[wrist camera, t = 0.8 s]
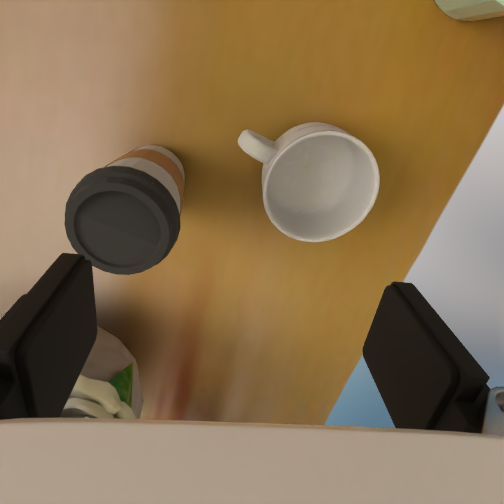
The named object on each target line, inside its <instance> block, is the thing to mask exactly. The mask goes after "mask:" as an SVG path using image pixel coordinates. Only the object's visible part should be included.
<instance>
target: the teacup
mask: <svg viewBox="0 0 504 504" xmlns="http://www.w3.org/2000/svg"><path fill="white" fill-rule="evenodd" d="M238 144H239V146H240V148H241V149H242V150H243V151H245V152H246V153H247V154H249V155H250V156H251V157H253V158H255V159H256V160H258V161H260V162H263V163H264V164H263V169H262V189H263V190H262V197H263V204H264V208H265V211H266V213H267V215H268V217H269V219H270V220H271V222H272V223H273V224H274V225H275V226H276V228H277V229H278V230H280V231H281V232H282V233H284V234H285V235H287V236H289V237H291V238H293V239H296V240H300V241H304V242H323V241H328V240H332V239H335V238H337V237H339V236H342V235H344V234H345V233H347V232H349V231H350V230H352V229H354V228H355V227H356V226H357V225H358V224H359V223H361V222H362V221H363V220H364V219H365V217H366V216H367V215H368V213H369V212H370V210H371V209H372V207H373V205H374V203H375V201H376V198H377V195H378V191H379V182H380V179H379V169H378V165H377V162H376V160H375V157H374V156H373V154H372V152H371V151H370V149H369V148H368V147H367V146H366V145H365V144H364V143H363V142H362V141H360V140H359V139H358V138H356V137H354V136H352V135H350V134H349V133H347V132H346V131H344V130H343V129H341V128H339V127H337V126H334V125H331V124H327V123H321V122H312V123H305V124H301V125H298V126H295V127H293V128H291V129H289V130H288V131H286V132H285V133H284V134H282V135H281V136H280V137H279V138H278V139H277V140H276V141H271V140H269V139H267V138H265V137H263V136H262V135H260V134H258V133H256V132H254V131H252V130H249V129H246V130H244V131H243V132H242V133H241V135H240V137H239V139H238Z"/></svg>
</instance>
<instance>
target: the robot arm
mask: <svg viewBox="0 0 504 504" xmlns="http://www.w3.org/2000/svg"><path fill="white" fill-rule="evenodd" d="M96 337H97V319H96V307H95V296H94V285H93V273H92V263H91V261H90V260H86V259H85V256H84V255H81V254H69V253H62V254H61V255H60V256H59V257H58V258H57V259H56V261H55V262H54V263H53V264H52V265H51V266H50V268H49V269H48V270H47V271H46V272H45V274H44V275H43V276H42V277H41V278H40V279H39V281H38V282H37V283H36V284H35V285H34V286H33V288H32V289H31V290H30V291H29V292H28V293H27V294H25V295H23V296H21V297H20V298H19V299H18V300H17V302H16V303H15V304H14V305H13V306H12V307H11V308H10V310H9V311H8V312H7V313H6V314H5V315H4V316H3V318H2V319H1V320H0V504H504V387H495V388H492V389H490V388H489V387H488V386H487V384H486V383H487V381H488V380H489V376H488V375H487V374H486V372H485V371H484V370H483V369H482V368H481V366H480V365H479V364H478V363H477V361H476V360H475V359H474V358H473V357H472V355H471V354H470V353H469V352H468V351H467V349H466V348H465V347H464V346H463V344H462V343H461V342H460V341H459V340H458V338H457V337H456V336H455V335H454V333H453V332H452V331H451V330H450V328H449V327H448V326H447V325H446V324H445V323H444V321H443V320H442V319H441V318H440V317H439V315H438V314H437V313H436V312H435V310H434V309H433V308H432V307H431V305H430V304H429V303H428V302H427V300H426V299H425V298H424V297H423V296H422V294H421V293H420V292H419V291H418V290H417V288H416V287H415V286H414V285H413V284H412V283H404V282H393V283H392V284H391V285H390V286H387V287H386V288H385V290H384V293H383V295H382V298H381V301H380V303H379V306H378V309H377V311H376V314H375V317H374V319H373V322H372V325H371V327H370V330H369V333H368V335H367V338H366V341H365V343H364V346H363V357H364V359H365V361H366V363H367V366H368V368H369V370H370V372H371V374H372V377H373V379H374V381H375V383H376V385H377V388H378V390H379V392H380V394H381V397H382V399H383V401H384V403H385V405H386V407H387V410H388V412H389V414H390V416H391V419H392V421H393V423H394V425H395V427H396V428H375V427H352V426H327V425H301V424H274V423H246V422H217V421H185V420H152V419H117V418H60V415H61V413H62V411H63V409H64V407H65V405H66V403H67V401H68V398H69V396H70V394H71V392H72V390H73V388H74V386H75V384H76V381H77V379H78V377H79V375H80V373H81V371H82V369H83V367H84V364H85V362H86V360H87V358H88V356H89V354H90V352H91V350H92V347H93V345H94V343H95V341H96Z"/></svg>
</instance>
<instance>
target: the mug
mask: <svg viewBox="0 0 504 504" xmlns="http://www.w3.org/2000/svg"><path fill="white" fill-rule="evenodd" d="M435 2H436V4H437V6H438V7H439V8H440V10H442V11H443V12H444V13H445V14H446V15H448V16H449V17H451V18H453V19H456V20H460V21H475V20H481V19H487V18H493V17H499V16H504V0H435Z"/></svg>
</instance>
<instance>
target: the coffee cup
mask: <svg viewBox="0 0 504 504" xmlns="http://www.w3.org/2000/svg"><path fill="white" fill-rule="evenodd" d="M184 182H185V173H184V170H183V166H182V164H181V162H180V161H179V159H178V158H177V157H176V156H175V155H174V154H173V153H172V152H171V151H169V150H167V149H166V148H163V147H160V146H157V145H146V146H141V147H139V148H137V149H136V150H133V151H131V152H129V153H127V154H125V155H124V156H122V157H120V158H118V159H117V160H115V161H113V162H111V163H110V164H108V165H106V166H105V167H104V168H99V169H97V170H95V171H93V172H91V173H89V174H87V175H86V176H85V177H84V178H83V179H82V180H81V181H80V182H79V183H78V184H77V185H76V187H75V188H74V189H73V191H72V192H71V194H70V197H69V199H68V201H67V203H66V210H65V228H66V233H67V237H68V239H69V241H70V243H71V245H72V247H73V248H74V249H75V251H76V252H77V253H78V254H81V255H84V256H85V259H86V260H90V261H91V263H92V266H94V267H96V268H98V269H100V270H103V271H106V272H110V273H114V274H127V275H129V274H135V273H140V272H143V271H145V270H147V269H149V268H151V267H153V266H154V265H156V264H158V263H159V262H161V261H162V260H163V259H164V258H165V257H166V256H167V255H168V254H169V252H170V250H171V249H172V247H173V246H174V244H175V242H176V241H177V238H178V235H179V231H180V214H181V209H182V202H183V194H184Z"/></svg>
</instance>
